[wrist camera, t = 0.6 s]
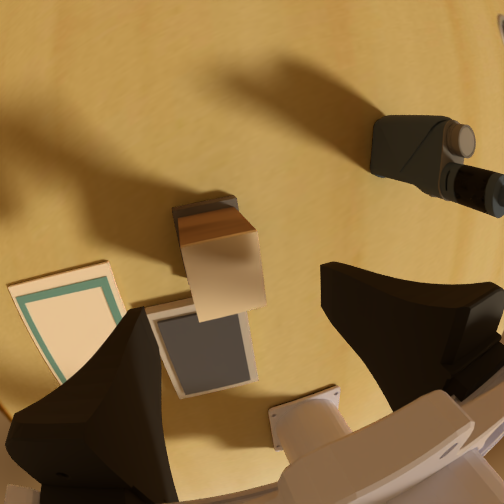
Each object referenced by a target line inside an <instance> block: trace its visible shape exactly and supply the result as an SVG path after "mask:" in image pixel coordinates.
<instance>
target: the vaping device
mask: <svg viewBox="0 0 504 504" xmlns="http://www.w3.org/2000/svg"><path fill="white" fill-rule="evenodd" d="M475 145H476V141H475V135H474V132H473V130H472V128H471V127H470V126H469V125H464V124H460V123H459V122H457V121H455V120H452V119H450V118H448V117H445V116H431V115H388V116H384V117H382V118H381V119H379V120H377V121H376V123H375V125H374V131H373V143H372V155H371V165H370V170H371V173H372V174H374V175H376V176H378V177H381V178H385V177H387V178H391V179H395V180H398V181H402V182H406V183H410V184H413V185H415V186H416V187H418V188H419V189H420V190H421V191H422V192H424V193H426V194H429V196H431V197H438V198H441V199H444V200H446V201H452V202H455V203H458V204H461V205H464V206H467V207H470V208H472V209H475V210H478V211H481V212H483V213H486V214H489V215H491V216H494V217H496V218H500V217H502V216H503V215H504V174H500V173H497V172H493V171H489V170H485V169H481V168H477V167H472V166H468V165H463V163H464V158H470V157H471V156H472V155H473V153H474V151H475ZM472 201H473V202H472ZM484 204H485V205H484Z"/></svg>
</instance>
